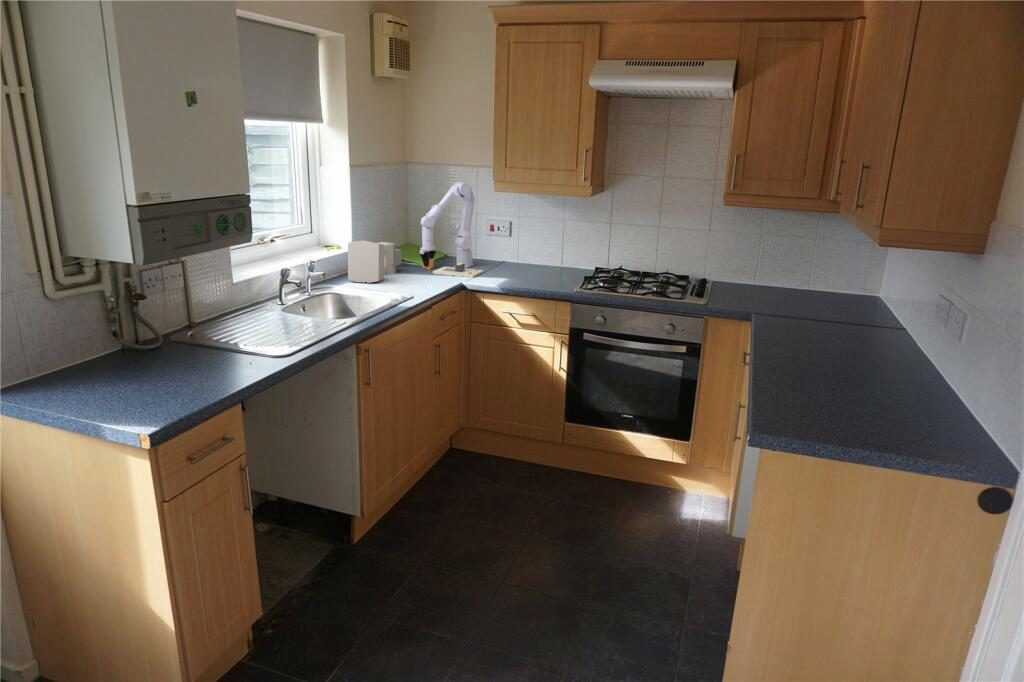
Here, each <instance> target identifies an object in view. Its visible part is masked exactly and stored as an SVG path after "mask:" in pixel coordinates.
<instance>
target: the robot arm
mask: <svg viewBox="0 0 1024 682" xmlns="http://www.w3.org/2000/svg"><path fill="white" fill-rule="evenodd" d="M457 197H460V198H461V199H462V200H463V207H462V214H461V218H460V219H461V220H460V226H459V227H460V229H459V231H458V232H457V234H456V235H457V236H456V237H455V240H454V245H455V246H456V264H458V263H463V264H465V269H469V268H470V267H472V266H474V265H475V264H474V263H473V252H472V250H471V248H472V246H473V241H472V235H471V228H472V227H471V226H472V220H473V213H474V212H473V211H474V205H475V196H474V192H473V188H472V186H471V185H470V184H469V183H467V182H463V181H460V180H458V181H455V182H454V183H453V185H451V186H450V187H449V190H448V191H447V192H446V194H445V195H444V196H443V197H442V199H441V200H440V201H439V203H438V204H437V203H436V204H434V205H432V206H431V209H429V211H428V212H427V213H425V216H422V217H421V220H420V221H419V222H420V223H419V224H420V225H421V235H422V236H421V239H422V240H421V241H422V242H421V243H422V247H420V248H419V249H420V250H419V256H420V258H421V260H422V265H423V264H424V266H425V267H428V265H429V258H432V259H433V260H434V258H435V255H436V253H437V251H436V249H437V247H436V246H435V245H434V227H435V225H436V221H438V219H439V218H440V217H441V216H442V215H443V213H444V209H445V207H446V206H448V204H449V203H450V202H451V201H452V200H453V199H454V198H457ZM456 264H454V265H453V267H455V265H456Z"/></svg>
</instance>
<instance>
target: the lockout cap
mask: <svg viewBox="0 0 1024 682" xmlns="http://www.w3.org/2000/svg"><path fill="white" fill-rule="evenodd" d="M423 268H426V269H425V270H431V268H432V269H434V259H432V258H429V265H428V267H425V266H424V264H423V263H422V269H423Z"/></svg>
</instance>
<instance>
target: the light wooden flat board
mask: <svg viewBox="0 0 1024 682" xmlns="http://www.w3.org/2000/svg"><path fill="white" fill-rule="evenodd" d="M482 272H483V273H484V270H483V269H477V268H473V269H472V268H465V270H463V271H455V266H442V267H439V268H437V269H435V270H432V274H433V273H434V274H433V275H442V274H443V276H452V275H455V276H454V277H461V276H464V277H463V278H471V277H473V278H475V277H477V276H479V275H481V274H483V273H482ZM480 273H481V274H480ZM478 274H479V275H478ZM476 275H477V276H476ZM474 276H475V277H474Z"/></svg>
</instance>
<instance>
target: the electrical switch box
mask: <svg viewBox="0 0 1024 682" xmlns="http://www.w3.org/2000/svg"><path fill="white" fill-rule="evenodd" d="M384 278H385V275H384V244H382V243H380V242H372V241H368V240H363V239H362V240H357V241H349V242H348V243H347V279H348V281H351V282H355V283H359V282H363V283H364V282H367V283H366V284H368V283H369V284H370V283H376V282H382V281H383V280H384Z"/></svg>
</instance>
